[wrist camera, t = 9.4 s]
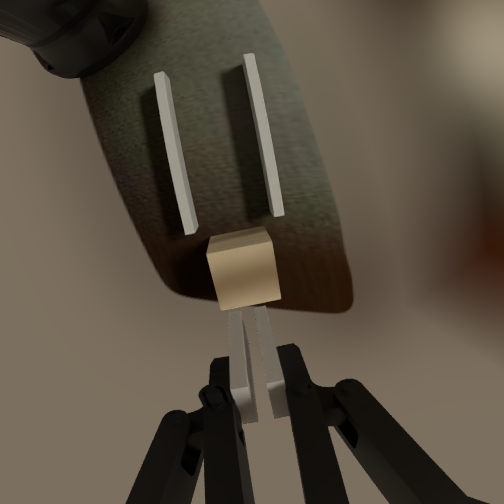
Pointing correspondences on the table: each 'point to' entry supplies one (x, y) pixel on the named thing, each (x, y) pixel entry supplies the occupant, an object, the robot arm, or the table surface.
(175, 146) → the channel
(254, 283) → the maple block
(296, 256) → the table surface
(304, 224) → the table surface
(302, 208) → the table surface
